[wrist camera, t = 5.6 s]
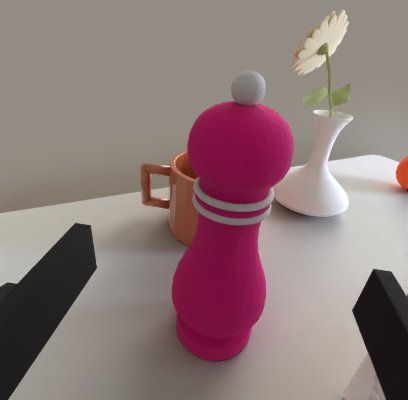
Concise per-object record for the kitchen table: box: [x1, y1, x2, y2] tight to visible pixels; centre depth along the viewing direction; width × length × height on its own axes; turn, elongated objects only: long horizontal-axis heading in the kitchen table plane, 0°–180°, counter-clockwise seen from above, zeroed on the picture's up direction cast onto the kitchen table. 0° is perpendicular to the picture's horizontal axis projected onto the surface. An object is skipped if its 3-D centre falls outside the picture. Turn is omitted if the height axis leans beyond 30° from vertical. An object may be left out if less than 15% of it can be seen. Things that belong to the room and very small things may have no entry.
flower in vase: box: [272, 10, 353, 217], centre depth 38 cm, size 13×11×25 cm
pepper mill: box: [172, 71, 294, 361], centre depth 19 cm, size 7×7×20 cm
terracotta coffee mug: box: [141, 150, 199, 246], centre depth 35 cm, size 15×11×8 cm
